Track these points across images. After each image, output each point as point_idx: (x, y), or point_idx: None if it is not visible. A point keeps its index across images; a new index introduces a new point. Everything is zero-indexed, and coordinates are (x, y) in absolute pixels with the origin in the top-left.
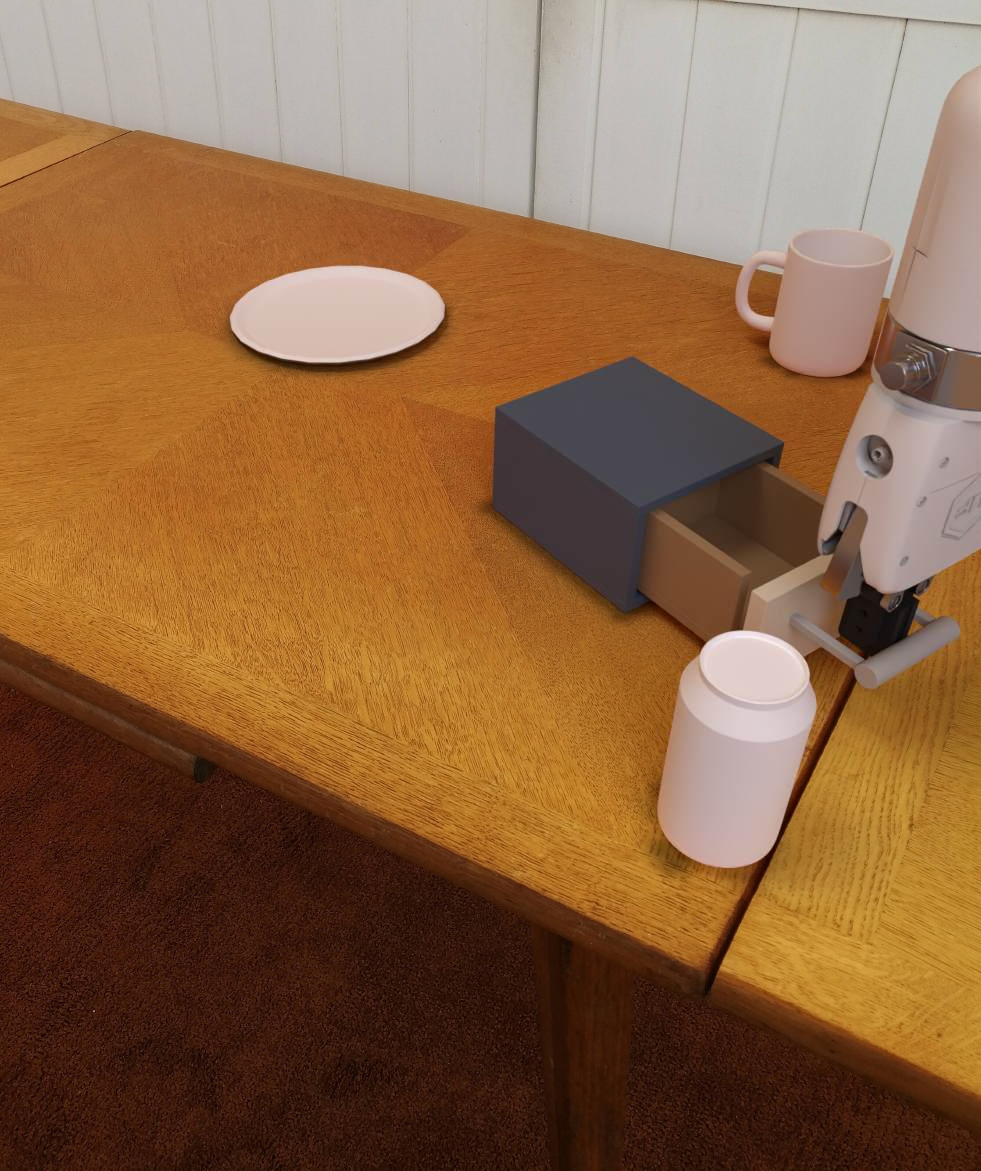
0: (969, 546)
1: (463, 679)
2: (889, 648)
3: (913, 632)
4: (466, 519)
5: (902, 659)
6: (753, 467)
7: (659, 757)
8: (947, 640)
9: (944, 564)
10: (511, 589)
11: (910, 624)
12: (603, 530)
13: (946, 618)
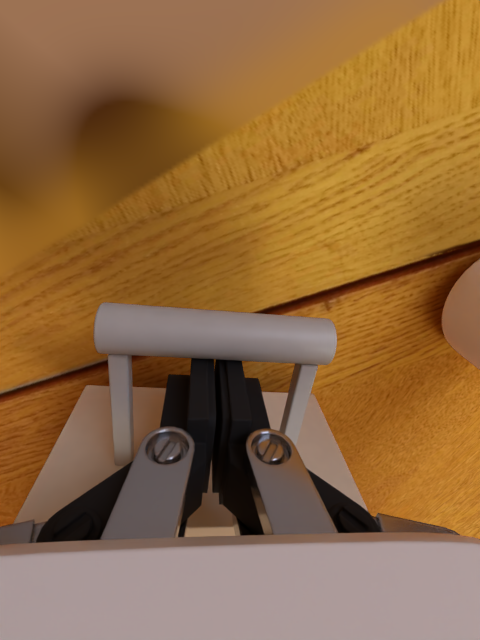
0: (118, 625)
1: (438, 505)
2: (261, 359)
3: (182, 357)
4: None
5: (268, 331)
6: None
7: (429, 380)
8: (142, 311)
9: (284, 577)
10: None
11: (193, 375)
12: None
13: (105, 346)
